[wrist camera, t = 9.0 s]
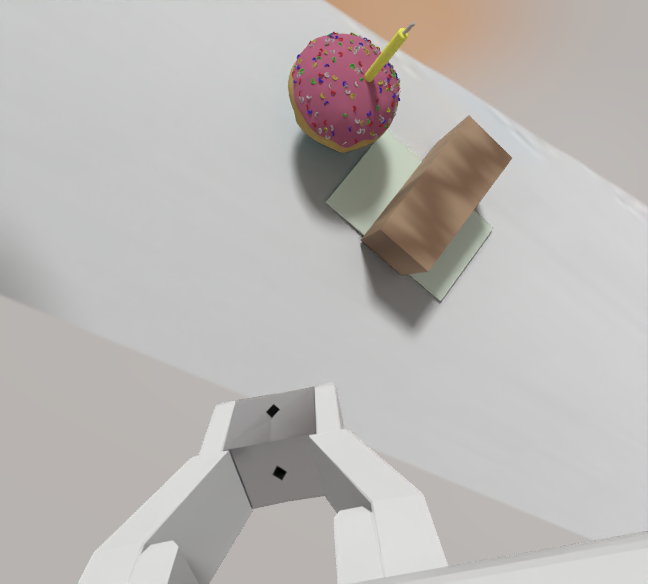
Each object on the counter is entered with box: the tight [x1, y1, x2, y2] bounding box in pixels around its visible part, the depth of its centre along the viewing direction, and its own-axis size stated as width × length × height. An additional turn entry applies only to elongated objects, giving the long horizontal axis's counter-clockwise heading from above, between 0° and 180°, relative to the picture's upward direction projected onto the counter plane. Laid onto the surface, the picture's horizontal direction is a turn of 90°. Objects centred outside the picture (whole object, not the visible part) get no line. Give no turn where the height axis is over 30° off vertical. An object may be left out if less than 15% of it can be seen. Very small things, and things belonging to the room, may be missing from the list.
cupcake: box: [288, 22, 415, 152], centre depth 25 cm, size 9×8×12 cm
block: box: [361, 116, 512, 275], centre depth 30 cm, size 5×5×12 cm
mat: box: [325, 129, 493, 301], centre depth 32 cm, size 14×9×1 cm, turn 52°
